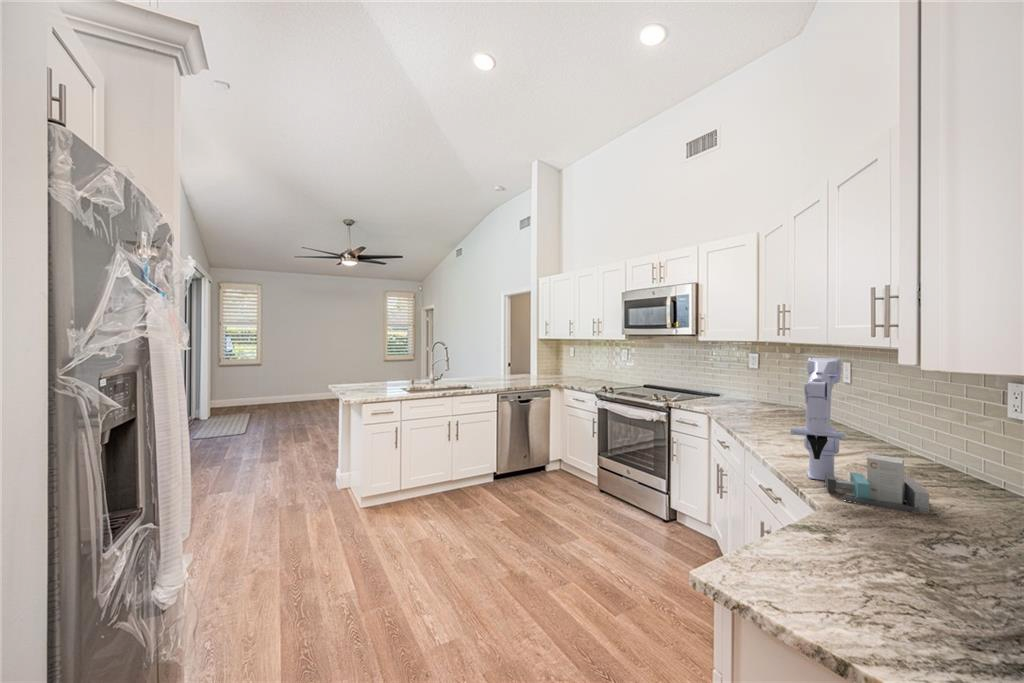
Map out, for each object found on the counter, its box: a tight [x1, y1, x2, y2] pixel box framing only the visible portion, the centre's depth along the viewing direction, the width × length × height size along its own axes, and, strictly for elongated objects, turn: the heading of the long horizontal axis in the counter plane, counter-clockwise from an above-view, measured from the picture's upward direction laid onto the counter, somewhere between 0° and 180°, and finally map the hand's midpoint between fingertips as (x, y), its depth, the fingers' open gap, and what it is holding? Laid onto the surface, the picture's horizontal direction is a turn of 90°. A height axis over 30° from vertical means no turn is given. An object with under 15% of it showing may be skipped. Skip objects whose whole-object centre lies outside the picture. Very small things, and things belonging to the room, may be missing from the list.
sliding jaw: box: [824, 472, 870, 499], centre depth 131 cm, size 11×10×6 cm
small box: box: [866, 453, 905, 504], centre depth 127 cm, size 8×6×13 cm
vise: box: [842, 476, 930, 515], centre depth 127 cm, size 15×19×6 cm
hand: (816, 458), depth 135 cm, fingers closed
